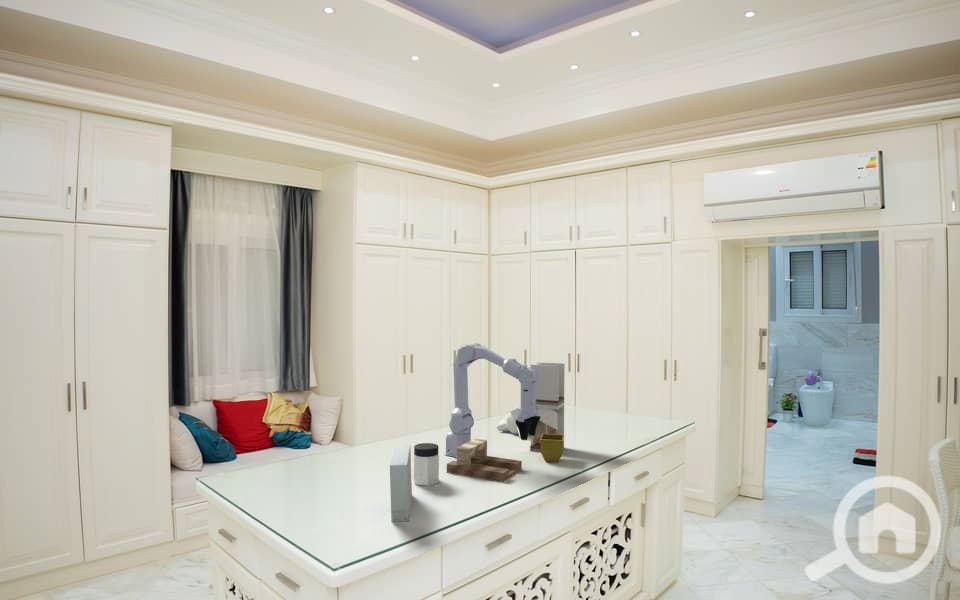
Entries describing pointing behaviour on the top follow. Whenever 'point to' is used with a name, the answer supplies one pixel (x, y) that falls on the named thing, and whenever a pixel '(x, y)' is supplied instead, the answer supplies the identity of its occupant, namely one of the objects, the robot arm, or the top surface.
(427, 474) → the jar
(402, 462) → the skincare box
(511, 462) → the board
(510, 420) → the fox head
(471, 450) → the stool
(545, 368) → the grey dispenser tower
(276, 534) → the top surface
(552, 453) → the flower pot
